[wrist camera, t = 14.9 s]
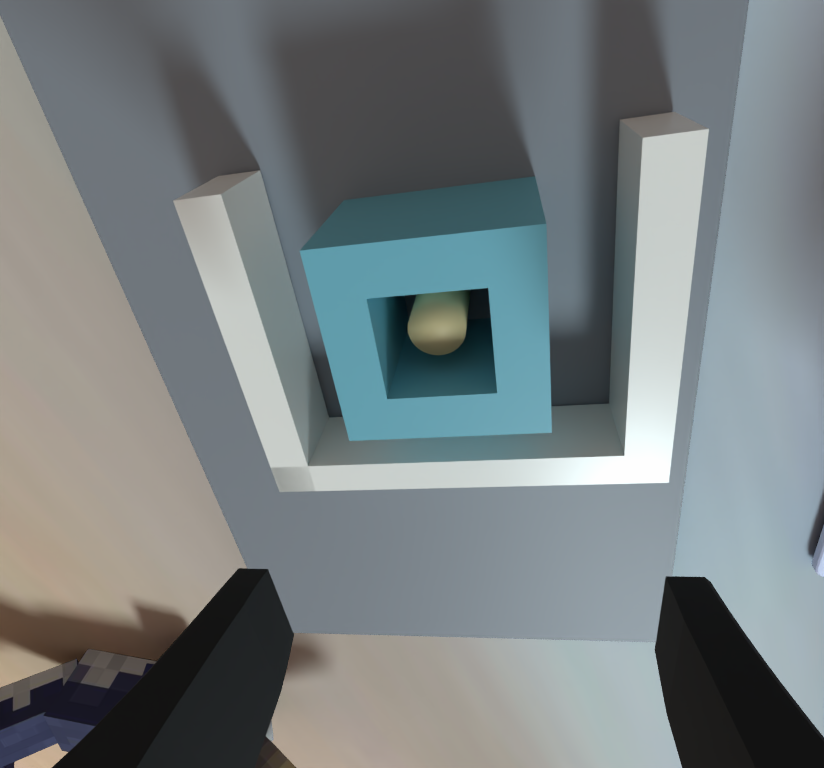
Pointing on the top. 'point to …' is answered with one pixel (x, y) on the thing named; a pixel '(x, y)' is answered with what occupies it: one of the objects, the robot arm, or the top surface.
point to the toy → (78, 706)
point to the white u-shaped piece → (468, 455)
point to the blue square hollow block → (430, 273)
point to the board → (428, 313)
